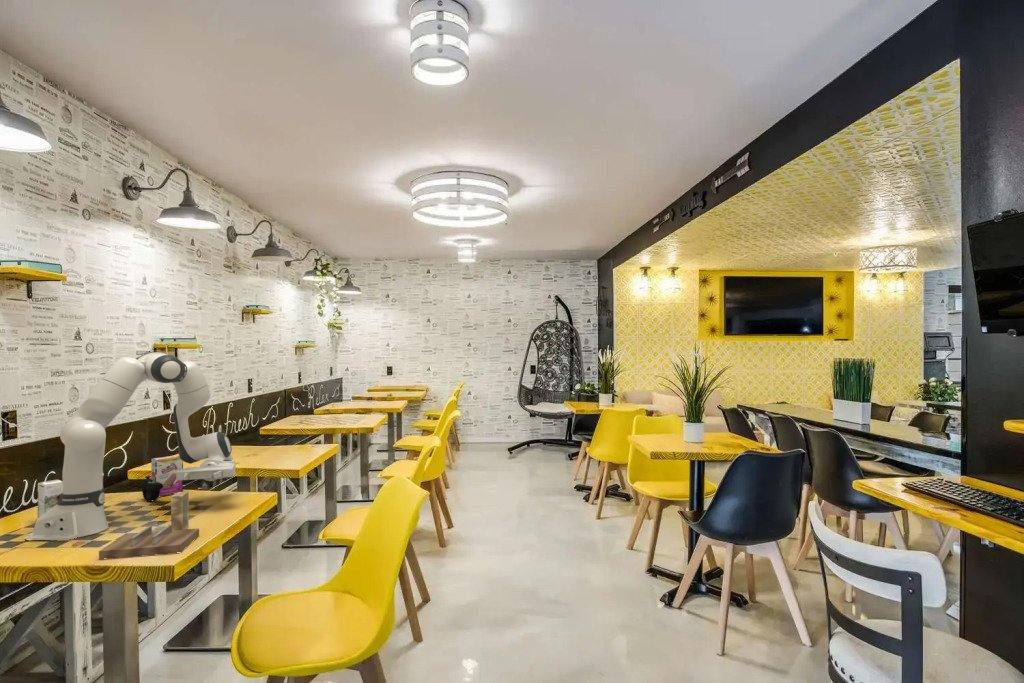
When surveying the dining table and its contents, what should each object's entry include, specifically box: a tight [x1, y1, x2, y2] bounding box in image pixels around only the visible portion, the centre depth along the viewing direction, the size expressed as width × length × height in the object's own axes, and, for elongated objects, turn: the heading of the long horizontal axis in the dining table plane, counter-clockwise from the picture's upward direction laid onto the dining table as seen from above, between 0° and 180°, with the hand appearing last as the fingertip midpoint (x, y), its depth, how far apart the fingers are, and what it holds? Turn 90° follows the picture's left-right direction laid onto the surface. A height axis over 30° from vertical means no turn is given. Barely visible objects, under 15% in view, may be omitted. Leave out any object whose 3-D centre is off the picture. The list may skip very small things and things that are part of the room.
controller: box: [140, 475, 163, 502], centre depth 227 cm, size 4×12×10 cm, turn 57°
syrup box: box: [37, 479, 63, 519], centre depth 203 cm, size 6×6×14 cm
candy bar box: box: [150, 454, 184, 497], centre depth 238 cm, size 11×5×16 cm, turn 144°
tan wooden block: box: [170, 491, 190, 530], centre depth 187 cm, size 3×6×13 cm, turn 11°
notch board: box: [98, 524, 200, 560], centre depth 172 cm, size 22×16×5 cm
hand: (199, 477), depth 205 cm, fingers open, 8 cm apart
